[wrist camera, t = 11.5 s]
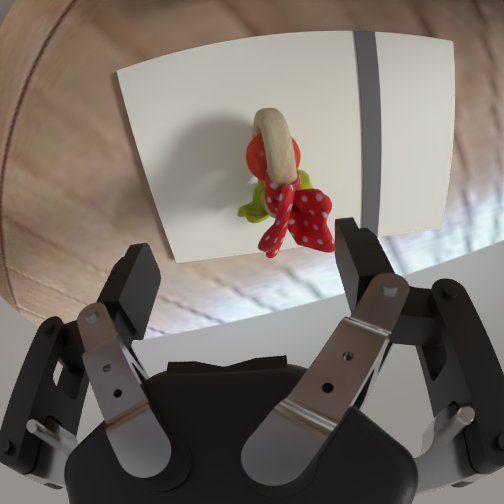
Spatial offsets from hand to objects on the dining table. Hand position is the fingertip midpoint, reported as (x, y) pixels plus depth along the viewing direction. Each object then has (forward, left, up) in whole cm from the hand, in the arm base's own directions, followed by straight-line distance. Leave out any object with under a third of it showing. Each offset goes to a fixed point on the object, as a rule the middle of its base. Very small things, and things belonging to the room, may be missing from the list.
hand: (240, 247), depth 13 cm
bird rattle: (+1, +2, -12) cm, 12 cm away
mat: (0, +5, -13) cm, 14 cm away
